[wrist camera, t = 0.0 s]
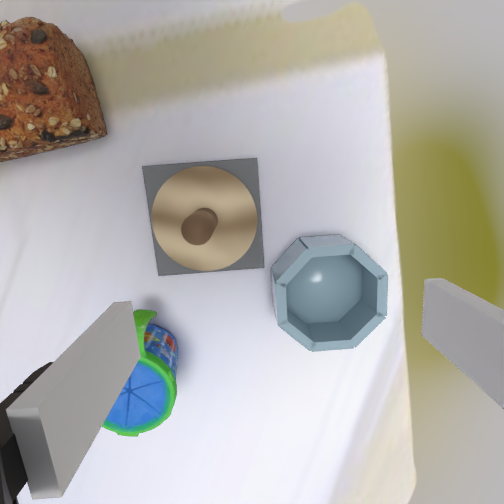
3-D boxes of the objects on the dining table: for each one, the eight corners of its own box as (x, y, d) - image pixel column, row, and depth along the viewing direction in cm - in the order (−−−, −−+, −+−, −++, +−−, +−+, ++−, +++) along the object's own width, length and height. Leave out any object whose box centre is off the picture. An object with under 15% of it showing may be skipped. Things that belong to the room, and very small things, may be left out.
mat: (143, 166, 39) (142, 166, 39) (256, 158, 40) (257, 157, 39) (159, 274, 43) (158, 275, 42) (264, 266, 43) (264, 267, 42)
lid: (146, 170, 39) (122, 169, 31) (253, 162, 39) (255, 159, 31) (161, 271, 42) (142, 294, 34) (260, 264, 42) (264, 285, 34)
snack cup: (178, 401, 47) (161, 460, 38) (106, 387, 47) (70, 444, 37) (200, 305, 44) (187, 343, 34) (123, 288, 43) (87, 322, 33)
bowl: (269, 239, 42) (273, 250, 36) (368, 232, 42) (388, 241, 36) (274, 331, 45) (279, 354, 39) (367, 323, 45) (385, 345, 39)
